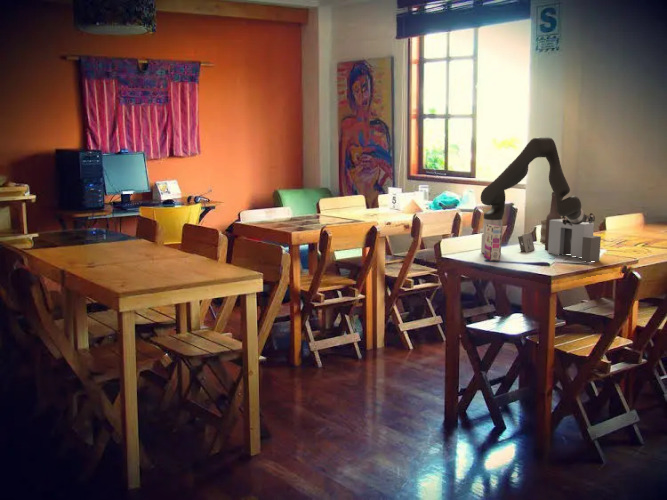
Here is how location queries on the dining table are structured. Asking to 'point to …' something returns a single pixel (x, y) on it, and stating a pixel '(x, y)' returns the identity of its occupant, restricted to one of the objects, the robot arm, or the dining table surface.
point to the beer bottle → (551, 218)
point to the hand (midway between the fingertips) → (580, 222)
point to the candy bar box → (492, 242)
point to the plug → (591, 248)
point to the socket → (568, 237)
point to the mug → (543, 231)
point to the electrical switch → (526, 242)
